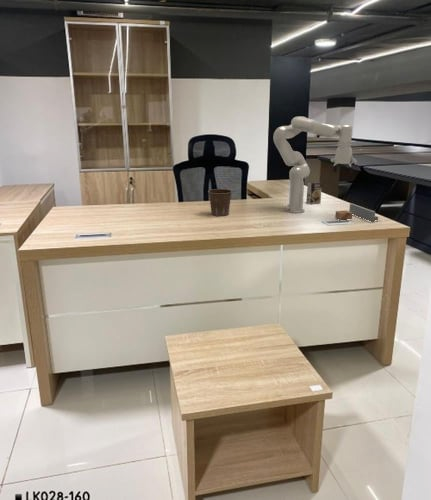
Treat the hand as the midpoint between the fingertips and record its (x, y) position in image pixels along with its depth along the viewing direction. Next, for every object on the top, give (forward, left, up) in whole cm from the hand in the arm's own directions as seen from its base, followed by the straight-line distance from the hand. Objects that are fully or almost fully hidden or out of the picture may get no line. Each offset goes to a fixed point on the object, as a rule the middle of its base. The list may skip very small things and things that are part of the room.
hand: (342, 172), depth 273 cm
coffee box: (+5, +46, -30) cm, 55 cm away
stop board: (+15, -6, -29) cm, 33 cm away
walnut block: (0, -6, -30) cm, 30 cm away
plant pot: (-74, +28, -30) cm, 85 cm away
